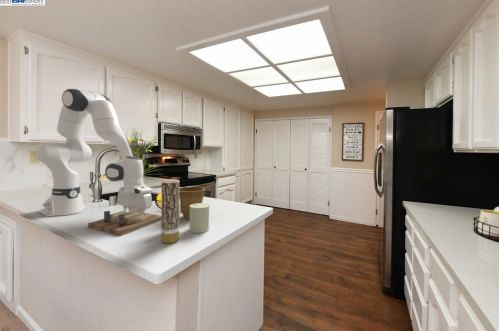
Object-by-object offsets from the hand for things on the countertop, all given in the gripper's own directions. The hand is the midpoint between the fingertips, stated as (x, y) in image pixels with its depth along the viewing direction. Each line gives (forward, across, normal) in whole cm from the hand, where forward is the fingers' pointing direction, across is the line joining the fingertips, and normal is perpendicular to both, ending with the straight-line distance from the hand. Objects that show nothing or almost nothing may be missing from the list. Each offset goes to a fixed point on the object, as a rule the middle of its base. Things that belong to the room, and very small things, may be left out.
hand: (134, 215), depth 113 cm
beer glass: (+3, +27, -3) cm, 27 cm away
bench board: (+3, 0, -4) cm, 5 cm away
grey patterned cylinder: (+3, +33, -11) cm, 35 cm away
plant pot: (+3, +21, +18) cm, 28 cm away
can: (+4, +36, +5) cm, 37 cm away
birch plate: (+1, 0, -5) cm, 5 cm away
